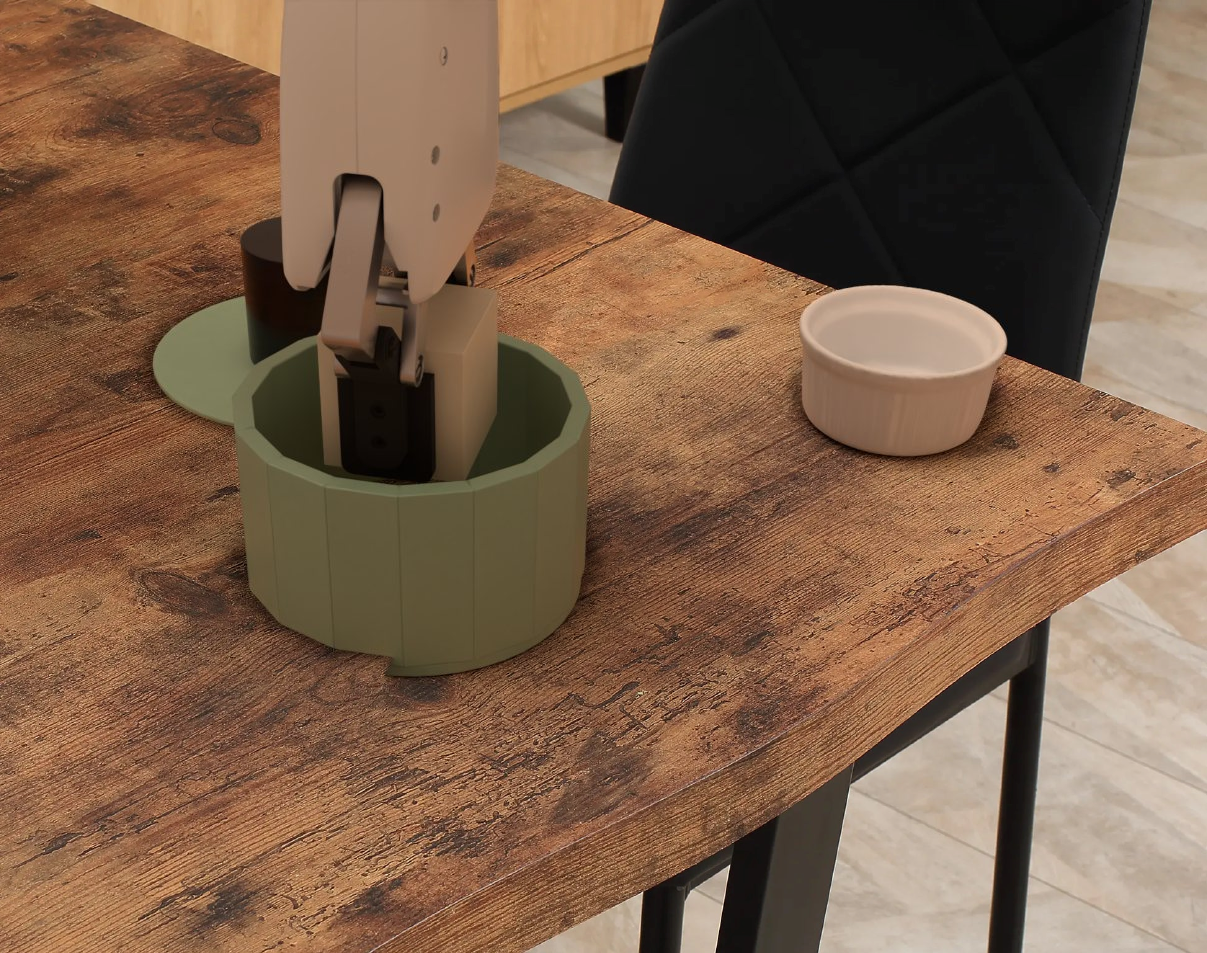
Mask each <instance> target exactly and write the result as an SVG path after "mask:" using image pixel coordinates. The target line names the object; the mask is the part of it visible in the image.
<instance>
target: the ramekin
mask: <svg viewBox="0 0 1207 953" xmlns="http://www.w3.org/2000/svg"><path fill="white" fill-rule="evenodd" d="M798 330H799V338H800V342H801V345H802V356H801V360H802V361H801V366H802V367H801V401H802V407H803V410H804V413H805V415H806V416H807V418H808V420H809V422H810V423H812V425H813V426H814V427H815V428H816V429H818V430H819V431H820V432H822V433H823V434H824V435H826V436H828V437H829V438H830V439H833V440H834V441H835V442H838V443H840V444H843V445H846V446H847V447H850V448H854V449H855V450H860V451H862V452H867V453H873V454H875V455H876V454H877V455H883V456H892V457H918V456H927V455H933V454H934V455H935V454H938V453H943V452H946V451H950V450H951V449H952V450H953V448H956V447H958V446H960V445H962V444H965V442H967V441H968V440H969V439H970V438H972V436H973V435H974V434H975V432H976V431H977V429H978V427H979V426H980V423H981V421H982V420H983V416H984V413H985V412H986V408H987V405H988V401H989V398H990V394H991V391H992V386H993V383H994V379H995V377H996V376H995V375H996V372H997V369H998V368H999V367H1000V364H1001V362H1002V361H1003V358H1004V356H1005V353H1006V351H1007V347H1008V338H1007V334H1006V332H1005V330H1004V329H1003V326H1001V325H1000V323H999V322H998V321H997V320H996V319H995V318H994V317H993V316H992V315H990V314H988V313H987V312H986V311H984V310H983V309H981V308H979V307H978V306H976V305H974V304H971V303H969V302H967V301H965V300H962V299H960V298H957V297H954V296H951V295H947V294H945V293H942V292H937V291H932V290H929V289H923V288H917V287H911V286H909V287H908V286H901V285H885V284H881V285H878V284H877V285H875V284H874V285H859V286H853V287H848V288H842V289H838V290H834V291H831V292H828V293H825V294H823V295H822V296H819V297H818V298H816V299H814V300H813V301H812V302H810V304H809V305H807V306H806V307H805V308H804V310H803V311H802V313H801V314H800V318H799V323H798Z"/></svg>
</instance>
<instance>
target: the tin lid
mask: <svg viewBox="0 0 1207 953" xmlns="http://www.w3.org/2000/svg"><path fill="white" fill-rule="evenodd" d="M239 241H240V242H239V244H240V245H239V246H240V256H241V267H242V268H241V269H242V279H243V291H244V295H242V296H239V297H235V298H231V299H227V300H224V301H221V302H218V303H215V304H213V305H209V306H207V307H205V308H203V309H201V310H199V311H196V312H194V313H193V314H191V315H189V316H187V317H186V318H184V319H182V320H181V321H180V322H178V323H177V324H175V325H174V326H173V327H172V328H170V329H169V331H167V333H165V334H164V336H162V338H161V340H160V341H159V342H158V344H157V345H156V348H155V350H154V353H153V359H152V369H153V370H152V371H153V377H154V379H155V381H156V383H157V385H158V387H159V389H161V390H162V392H163V393H164V394H165V395H166V396H167V397H168V398H169V399H170V400H171V401H173V403H175V404H177V405H178V406H180V407H182V409H185V410H186V411H188V412H189V413H192V414H195V415H196V416H199V417H201V418H203V419H206V420H208V421H212V422H215V423H218V424H221V425H225V426H229V427H233V428H234V419H233V407H232V396H233V394H234V393H235V391H236V390H237V389H238V387H239V386H240V385H241V383H242V382H243V381H244V379H245V378H246V377H247V375H248V374H249V373H250V371H251V370H252V369H253V367H254V366H255V365H256V364H257V363H259V362H261V361H263V360H264V359H266V358H268V357H270V356H272V355H273V354H275V353H277V352H279V351H281V350H283V349H284V348H286V347H288V346H290V345H292V344H293V343H295V342H297V341H299V340H302V339H304V338H308V337H312V336H316V335H318V334H319V332H320V331H321V327H322V320H323V313H324V307H325V301H326V294H327V288H328V282H329V276H330V269H331V267H330V268H329V270H328V271H327V272H326V274H325V275H324V276H323V278H322V279H321V280H320V282H319V283H318V284H317V286H316V287H315V288H310V289H308V290H306V291H300V290H295V289H294V288H293V287H292V286H291V285H290V284H289V282H288V280H287V279H286V276H285V274H284V266H283V249H282V217H281V215H280V216H275V217H271V218H267V219H264V220H260V221H259V222H256V223H253V224H252V225H249V227H247V228H246V229H245V230H244V231H243V232H242V233H241V236H240V239H239Z"/></svg>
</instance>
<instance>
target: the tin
mask: <svg viewBox="0 0 1207 953" xmlns="http://www.w3.org/2000/svg"><path fill="white" fill-rule="evenodd" d="M232 407H233V419H234V427H233V429H234V440H235V450H236V461H237V471H238V482H239V492H240V503H241V513H242V522H243V523H242V524H243V534H244V545H245V556H246V565H247V577H248V587H249V590H250V591H251V593H252V594H253V595H254V596H255V597H256V598H257V599H258V600H259V602H260V603H261V604H262V605H263V606H264V607H265V609H266V610H267V611H268V612H269V613H270V614H271V615H272V617H273V618H274V619H275V620H276V621H277V622H278V623H279V624H280V625H281V626H284V627H286V628H289V629H290V630H293V631H295V632H297V633H299V634H301V635H304V636H306V637H308V638H309V639H312V640H314V641H316V642H319V643H321V644H324V645H325V646H327V647H330V648H332V649H335V650H341V651H349V652H356V653H362V654H367V655H375V656H382V657H388V658H391V660H390V661H389V663H388V666H387V667H386V670H385V672H384V676H389V677H413V678H415V677H431V676H433V677H434V676H444V675H451V674H458V673H464V672H468V671H469V672H470V671H473V670H477V669H481V668H485V667H488V666H489V667H490V666H491V665H494V664H497V663H501V662H503V661H506V660H508V659H511V658H513V657H516V656H518V655H521V654H522V653H524V652H526V651H528V650H529V649H531V648H533V647H535V646H536V645H538V644H540V643H541V642H542V641H543V640H545V639H547V638H548V637H549V636H550V635H552V634H553V633H554V632H555V631H556V630H557V629H558V628H559V627H560V626H561V625H562V624H563V623H564V622H565V621H566V619H567V618H568V616H569V615H570V614H571V612H572V611H573V609H574V607H575V605H576V603H577V601H578V598H579V595H580V591H581V587H582V586H581V585H582V577H583V575H584V571H585V568H586V544H587V543H586V542H587V525H588V524H587V521H588V498H589V478H590V477H589V476H590V473H589V472H590V454H591V451H590V450H591V433H592V432H591V431H592V429H591V428H592V411H593V410H592V409H593V408H592V404H591V402H590V400H589V397H588V395H587V393H586V390H585V388H584V385H583V383H582V381H581V379H580V376H579V373H577V371H575V370H573V369H572V368H571V367H569V366H568V365H567V364H566V363H564V362H563V361H561V360H560V359H558V358H557V357H556V356H554V355H553V354H552V353H550V352H549V351H548V350H547V349H545V348H544V347H542V346H540V345H537V344H534V343H531V342H528V341H527V340H523V339H519V338H517V337H514V336H511V335H508V334H506V333H502V332H499V331H498V356H497V415H496V417H495V419H494V421H493V423H492V425H491V427H490V430H489V432H488V434H487V436H486V438H485V440H484V442H483V444H482V446H481V448H480V451H479V453H478V455H477V457H476V459H475V461H474V463H473V465H472V467H471V469H470V472H469V474H468V476H467V478H466V480H465V481H453V482H448V481H441V482H427V483H413V484H402V485H396V484H391V483H390V484H388V483H381V482H380V481H391V480H393V479H386V478H379V477H371V476H364V475H356V474H351V473H348V472H347V471H345V470H344V468H343V467H337V466H330V465H325V464H324V448H323V431H322V414H321V396H320V379H319V362H318V345H317V335H316V336H312V337H308V338H304V339H302V340H299V341H297V342H295V343H293V344H292V345H290V346H288V347H286V348H284V349H283V350H281V351H279V352H277V353H275V354H273V355H272V356H270V357H268V358H266V359H264V360H263V361H261V362H259V363H257V364H256V365H255V366H254V367H253V369H252V370H251V371H250V373H249V374H248V375H247V377H246V378H245V379H244V381H243V382H242V383H241V385H240V386H239V387H238V389H237V390H236V391H235V393H234V394H233V396H232Z"/></svg>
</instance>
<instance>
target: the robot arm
mask: <svg viewBox="0 0 1207 953" xmlns="http://www.w3.org/2000/svg"><path fill="white" fill-rule="evenodd" d="M498 2H499V1H498V0H283V10H282V21H281V22H282V23H281V38H280V39H281V40H280V64H279V65H280V66H279V161H280V162H279V163H280V164H279V165H280V167H279V168H280V170H279V172H280V206H281V207H280V212H281V213H280V214H281V215H280V216H281V217H282V249H283V266H284V274H285V276H286V279H287V280H288V282H289V284H290V285H291V286H292V287H293V288H294V289H295V290H300V291H306V290H308V289H310V288H315V287H316V286H317V284H318V283H319V282H320V280H321V279H322V278H323V276H324V275H325V274H326V272H327V271H328V270H329V268H330V267H331V269H330V276H329V282H328V288H327V294H326V301H325V307H324V313H323V320H322V327H321V338H322V342H323V344H324V345H325V346H327V347H328V348H329V349H330V350H332V351H333V352H334V373H335V376H336V377H337V392H338V411H339V430H340V450H341V464H342V467H343V468H344V470H345V471H347V472H348V473H351V474H356V475H364V476H371V477H379V478H386V479H393V480H394V481H402V482H410V483H414V484H427V483H430V481H431V480H432V479H431V478H432V476H433V474H434V472H435V470H436V440H435V374H433V373H425V372H424V363H425V346H426V330H427V313H428V299H429V298H430V297H432V296H433V295H434V294H436V293H437V292H438V291H439V290H440V289H441V288H442V286H443V285H444V284H452V285H460V286H468V287H476V281H477V259H476V247H475V237H474V236H475V235H476V233H477V232H478V229H479V228H480V227H481V224H482V223H483V220H484V219H485V217H486V215H487V214H488V211H489V209H490V207H491V204H492V201H493V198H494V194H495V190H496V185H497V178H498V177H497V176H498V175H497V174H498V166H499V149H500V117H501V116H500V112H501V111H500V110H501V109H500V108H501V106H500V104H501V103H500V101H501V100H500V94H501V92H500V88H501V87H500V78H501V77H500V38H499V37H500V34H499V33H500V31H499V29H500V28H499V27H500V26H499V3H498ZM382 267H385V268H392V269H393V270H392V271H393V277H394V278H402V279H408V282H407V283H406V284H403V283H395V282H387V281H379V278H380V276H381V271H382ZM375 305H383V306H391V307H399V308H403V318H402V337H401V340H400V339H399V337H398V336H397V334H396V333H395V331H394V330H393V328H392V327H388V326H381V325H379V322H380V321H379V320H378V319H377V317H376V308H375Z"/></svg>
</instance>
